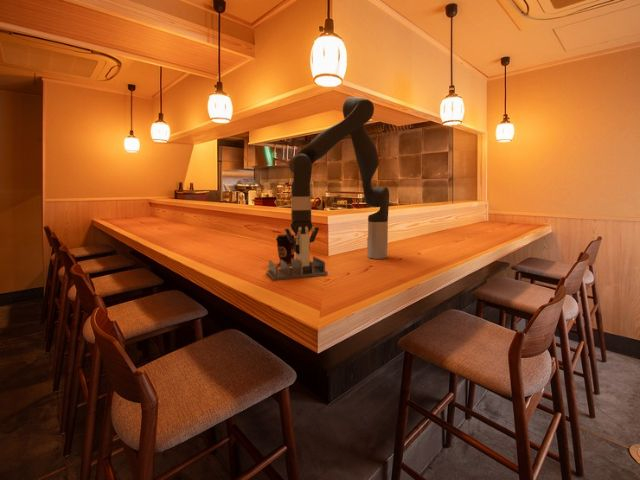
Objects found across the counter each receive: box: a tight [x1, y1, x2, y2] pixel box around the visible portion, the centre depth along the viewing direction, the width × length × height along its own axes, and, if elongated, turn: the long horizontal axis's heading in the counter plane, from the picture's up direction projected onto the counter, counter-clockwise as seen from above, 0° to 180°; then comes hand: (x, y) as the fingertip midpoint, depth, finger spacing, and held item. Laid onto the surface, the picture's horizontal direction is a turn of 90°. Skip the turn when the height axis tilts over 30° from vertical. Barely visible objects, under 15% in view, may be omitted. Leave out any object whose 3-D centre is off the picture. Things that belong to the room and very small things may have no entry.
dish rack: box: [266, 255, 329, 281], centre depth 130 cm, size 12×21×5 cm, turn 111°
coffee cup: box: [275, 234, 296, 266], centre depth 148 cm, size 9×8×13 cm
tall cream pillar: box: [295, 233, 311, 267], centre depth 130 cm, size 8×3×12 cm, turn 21°
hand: (302, 253), depth 130 cm, fingers closed on tall cream pillar, 3 cm apart
